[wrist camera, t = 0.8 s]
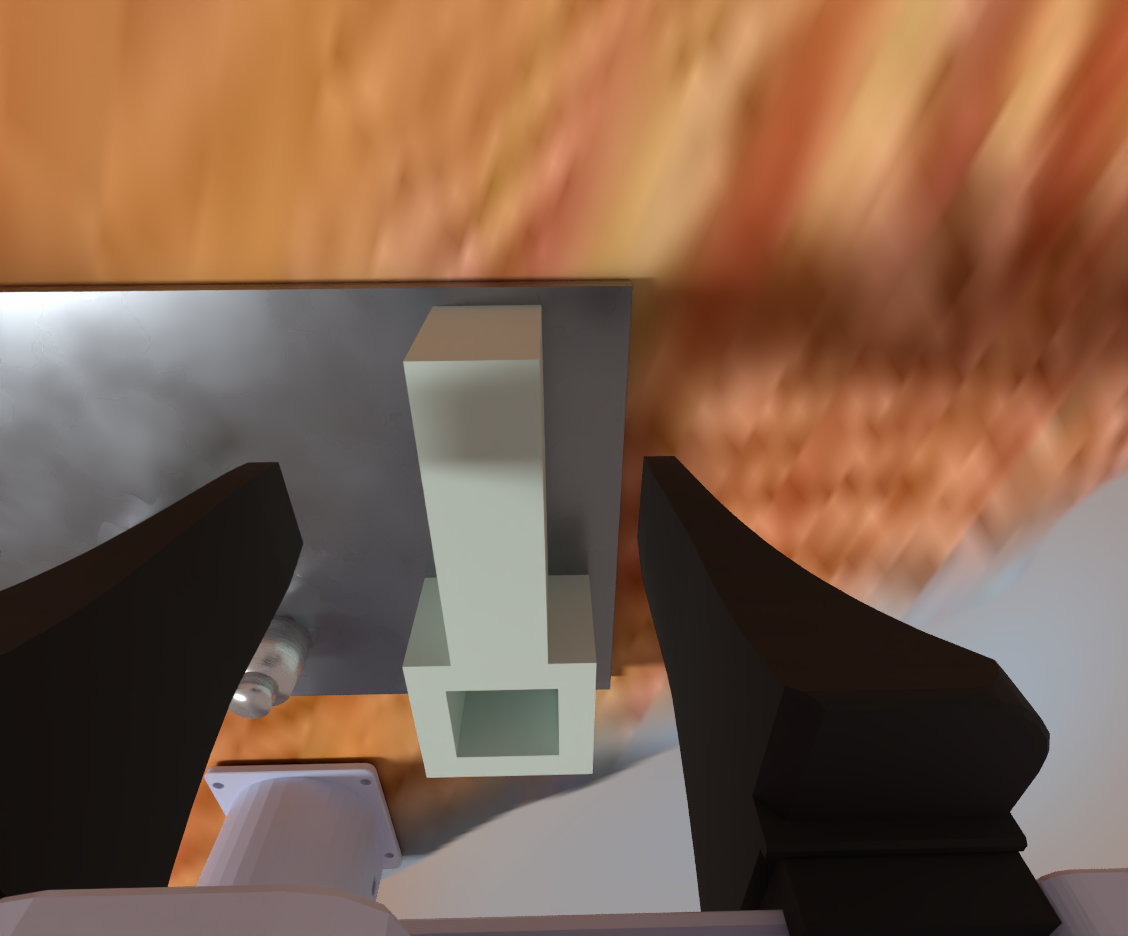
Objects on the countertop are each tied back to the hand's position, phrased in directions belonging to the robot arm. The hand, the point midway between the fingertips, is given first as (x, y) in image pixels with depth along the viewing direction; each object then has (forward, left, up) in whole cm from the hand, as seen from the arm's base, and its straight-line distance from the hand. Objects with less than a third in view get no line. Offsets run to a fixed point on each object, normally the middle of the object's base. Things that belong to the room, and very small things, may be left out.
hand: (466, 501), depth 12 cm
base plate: (-6, +8, -7) cm, 12 cm away
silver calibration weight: (-11, +9, -7) cm, 16 cm away
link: (-6, 0, -7) cm, 9 cm away
